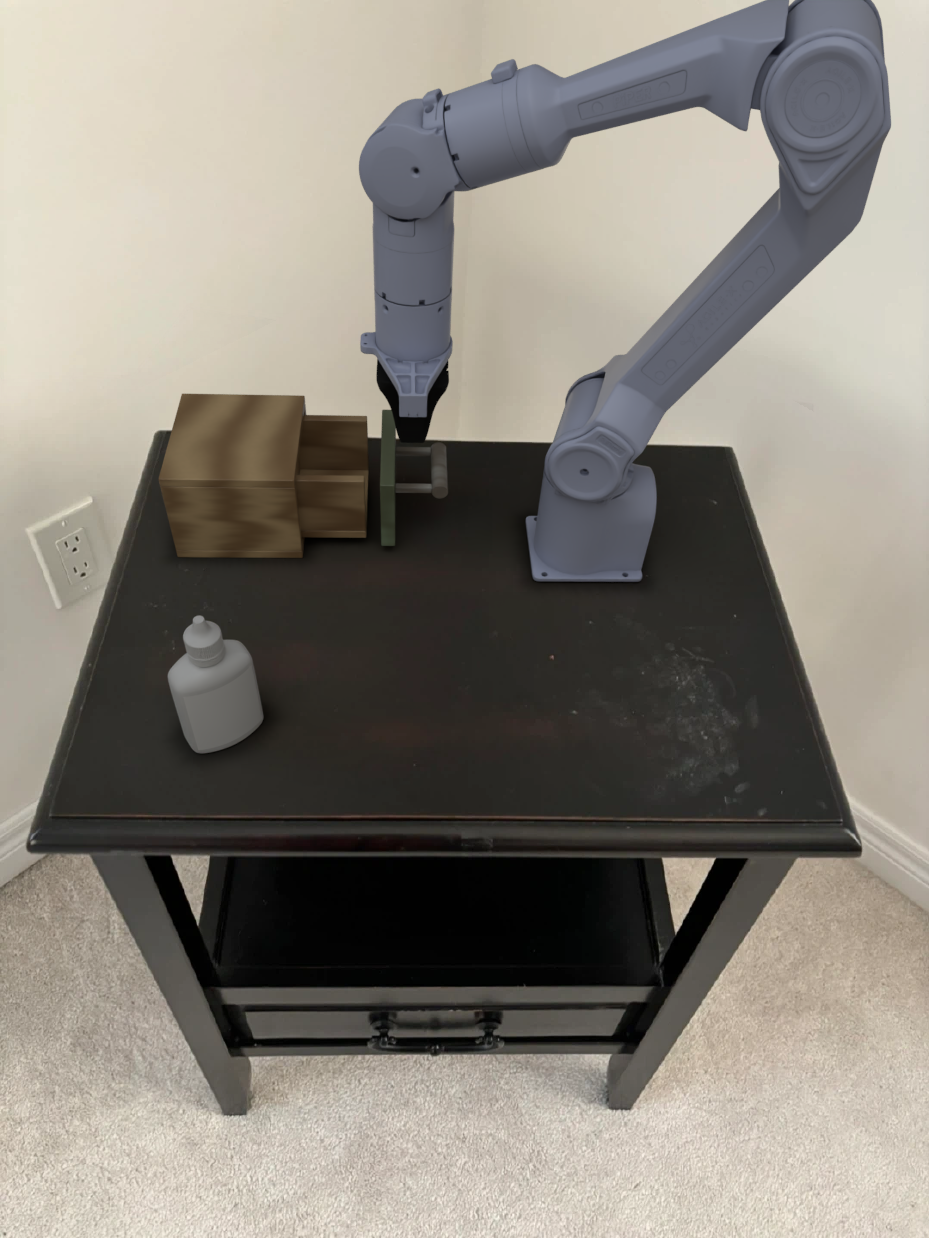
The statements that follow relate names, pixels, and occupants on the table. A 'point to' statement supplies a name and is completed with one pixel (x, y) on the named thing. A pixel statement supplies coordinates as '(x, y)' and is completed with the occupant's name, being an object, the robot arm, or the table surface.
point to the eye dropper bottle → (214, 689)
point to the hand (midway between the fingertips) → (412, 437)
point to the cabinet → (234, 476)
